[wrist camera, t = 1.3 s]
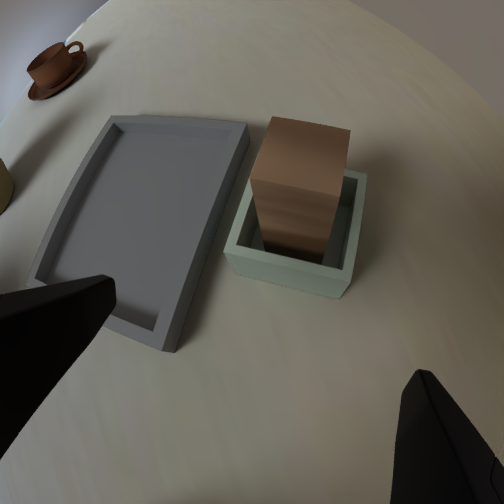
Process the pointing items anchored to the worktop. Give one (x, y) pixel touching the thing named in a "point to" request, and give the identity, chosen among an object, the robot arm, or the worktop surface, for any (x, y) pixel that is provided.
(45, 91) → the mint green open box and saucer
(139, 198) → the tray
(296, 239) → the square block
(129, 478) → the worktop surface
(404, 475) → the robot arm
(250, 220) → the mint green open box
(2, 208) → the squeeze bottle
